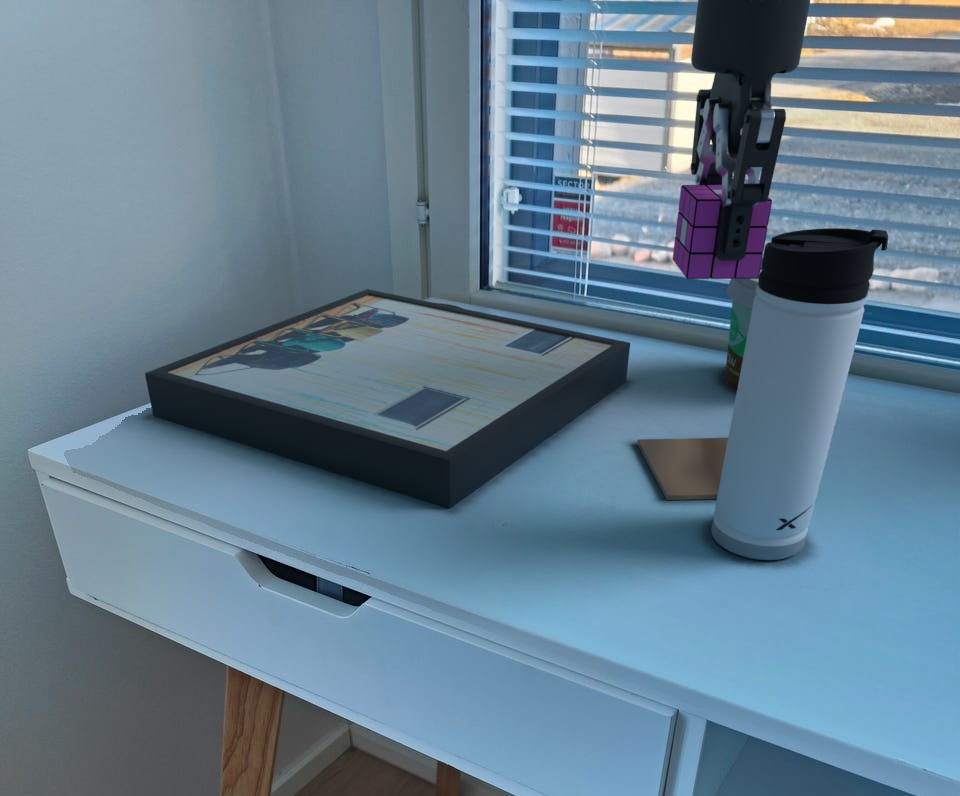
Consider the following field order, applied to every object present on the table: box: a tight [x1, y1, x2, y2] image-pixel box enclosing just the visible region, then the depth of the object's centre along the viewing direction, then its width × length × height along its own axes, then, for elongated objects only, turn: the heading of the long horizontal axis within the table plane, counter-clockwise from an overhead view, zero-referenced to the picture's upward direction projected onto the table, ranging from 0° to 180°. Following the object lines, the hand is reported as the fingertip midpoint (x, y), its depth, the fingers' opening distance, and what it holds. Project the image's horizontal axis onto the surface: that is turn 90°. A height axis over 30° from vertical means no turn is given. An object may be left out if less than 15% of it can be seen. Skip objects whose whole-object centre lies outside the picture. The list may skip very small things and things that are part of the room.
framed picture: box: [144, 288, 631, 509], centre depth 83 cm, size 30×4×30 cm
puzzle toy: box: [672, 184, 773, 280], centre depth 73 cm, size 6×6×6 cm
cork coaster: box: [636, 437, 728, 501], centre depth 73 cm, size 10×10×1 cm
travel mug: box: [710, 227, 889, 561], centre depth 58 cm, size 6×7×20 cm
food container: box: [724, 257, 763, 391], centre depth 85 cm, size 12×6×10 cm, turn 6°
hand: (717, 248), depth 74 cm, fingers closed on puzzle toy, 6 cm apart
